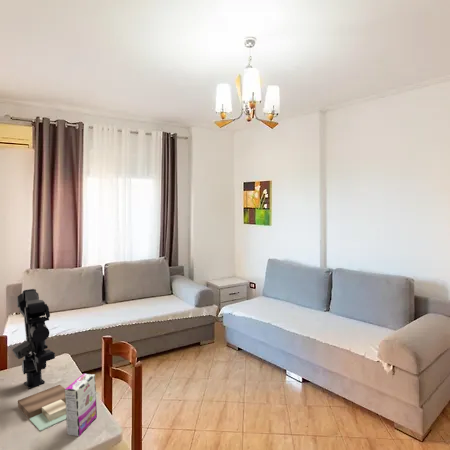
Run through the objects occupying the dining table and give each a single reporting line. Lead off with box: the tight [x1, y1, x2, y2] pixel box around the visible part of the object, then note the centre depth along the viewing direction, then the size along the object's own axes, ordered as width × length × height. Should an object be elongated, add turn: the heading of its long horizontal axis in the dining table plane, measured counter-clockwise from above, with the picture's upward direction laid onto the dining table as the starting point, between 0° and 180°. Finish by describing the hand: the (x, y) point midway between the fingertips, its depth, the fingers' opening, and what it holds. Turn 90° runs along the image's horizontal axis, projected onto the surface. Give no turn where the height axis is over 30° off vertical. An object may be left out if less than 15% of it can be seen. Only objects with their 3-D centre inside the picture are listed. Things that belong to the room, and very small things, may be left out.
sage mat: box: [29, 413, 66, 432], centre depth 131 cm, size 10×16×1 cm, turn 138°
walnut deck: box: [17, 384, 66, 419], centre depth 138 cm, size 12×16×2 cm
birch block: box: [42, 400, 66, 421], centre depth 131 cm, size 7×7×2 cm
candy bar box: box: [65, 373, 98, 437], centre depth 124 cm, size 11×5×16 cm, turn 168°
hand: (38, 371), depth 141 cm, fingers closed
